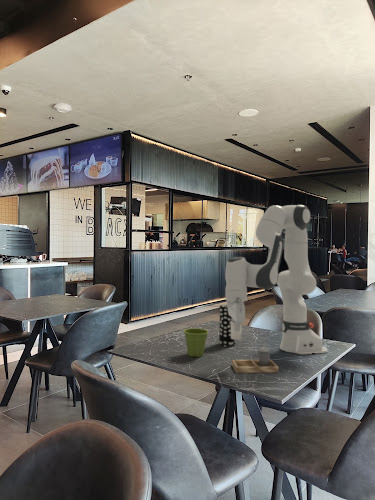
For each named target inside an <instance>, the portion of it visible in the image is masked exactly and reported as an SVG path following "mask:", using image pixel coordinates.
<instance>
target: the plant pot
mask: <svg viewBox="0 0 375 500" xmlns="http://www.w3.org/2000/svg"><path fill="white" fill-rule="evenodd" d="M183 333H184V336H185V343H186V349H187V351H186V352H187V355H188V356H189V357H197V358H199V357H200V358H202V356H204V352H205V347H206V341H207V338H208V335H209V330H208V329H205V328H195V327H194V328H186V329H183Z"/></svg>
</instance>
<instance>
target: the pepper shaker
mask: <svg viewBox="0 0 375 500" xmlns="http://www.w3.org/2000/svg"><path fill="white" fill-rule="evenodd" d="M270 352H271V350H270V349H269V348H268V347H259V350H258V360H259V367H262V366H270V360H271V359H270V354H271V353H270Z"/></svg>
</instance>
